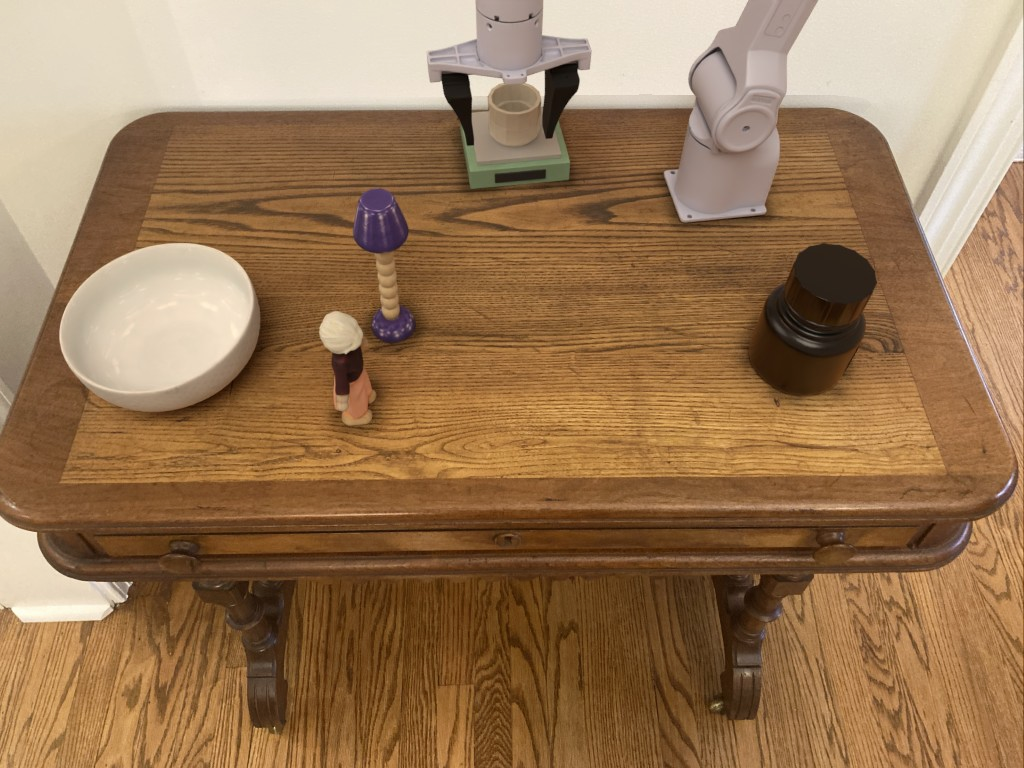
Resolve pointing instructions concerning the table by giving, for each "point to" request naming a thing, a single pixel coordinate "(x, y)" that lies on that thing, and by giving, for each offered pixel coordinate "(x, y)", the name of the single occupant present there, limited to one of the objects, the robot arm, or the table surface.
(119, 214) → the table surface
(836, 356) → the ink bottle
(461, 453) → the table surface
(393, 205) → the toy lamp
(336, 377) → the grandmother figurine
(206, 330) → the cereal bowl
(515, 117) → the white cup
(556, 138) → the scale
